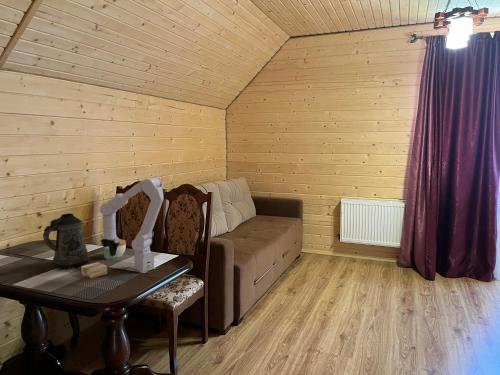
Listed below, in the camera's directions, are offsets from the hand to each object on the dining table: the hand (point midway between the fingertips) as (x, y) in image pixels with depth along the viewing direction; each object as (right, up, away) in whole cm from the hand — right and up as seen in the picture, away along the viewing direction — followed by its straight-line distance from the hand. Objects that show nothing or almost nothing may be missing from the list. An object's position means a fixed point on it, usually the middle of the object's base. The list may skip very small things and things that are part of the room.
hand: (110, 254), depth 192 cm
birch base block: (-3, -7, -11) cm, 14 cm away
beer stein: (-20, -5, 0) cm, 21 cm away
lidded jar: (-3, -4, +15) cm, 16 cm away
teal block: (0, -1, 0) cm, 2 cm away
